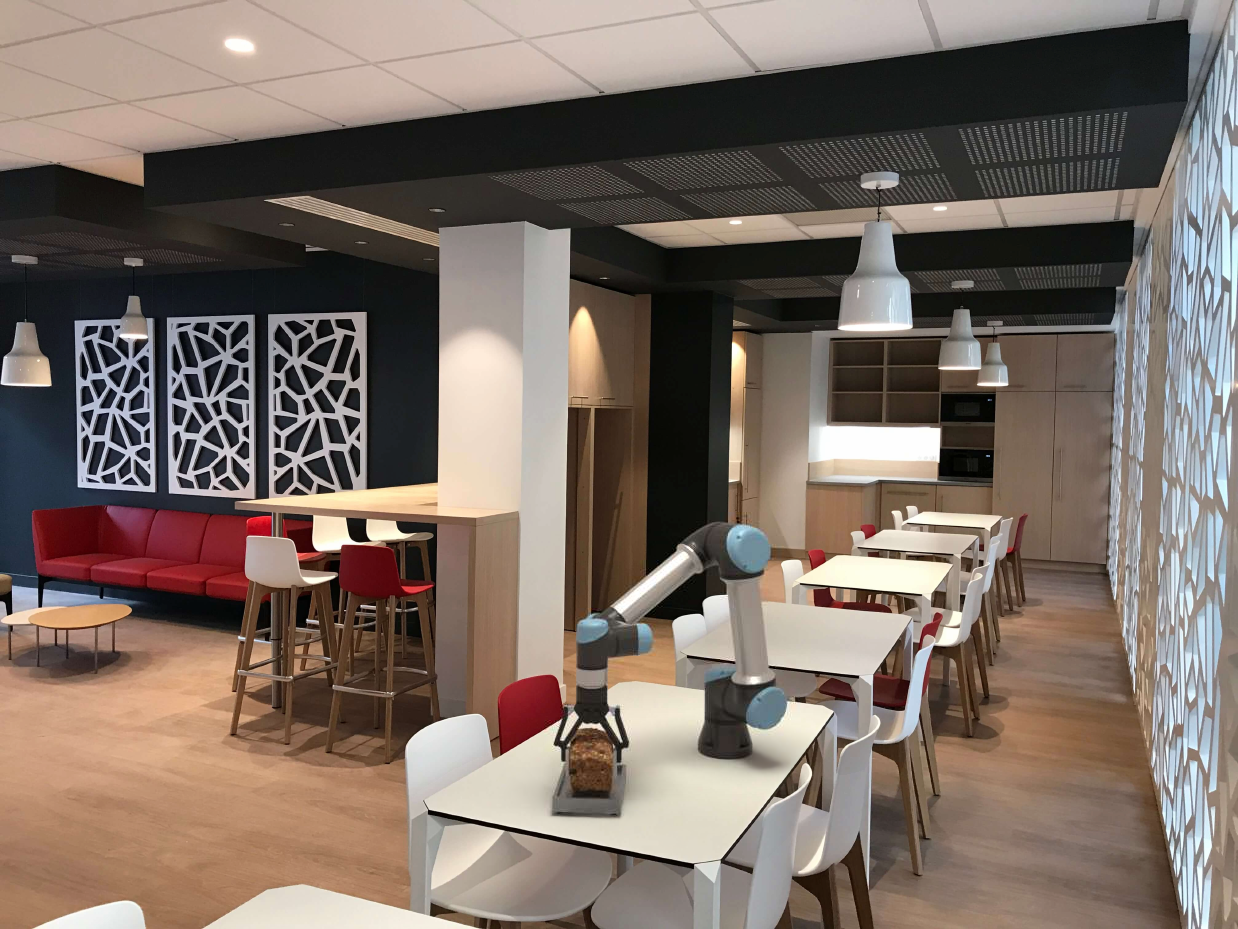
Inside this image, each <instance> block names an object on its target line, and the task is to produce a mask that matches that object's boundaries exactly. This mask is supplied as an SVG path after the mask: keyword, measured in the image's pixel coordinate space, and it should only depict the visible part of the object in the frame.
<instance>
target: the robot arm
mask: <svg viewBox="0 0 1238 929" xmlns="http://www.w3.org/2000/svg"><path fill="white" fill-rule="evenodd" d="M771 550H772V548H771V544H770V542H769V539H768V537H767V535H765V533H764V532H763V531H761V530H760V529H759V528H756V527H754V526H752V525H748V524H740V523H731V522H726V521H715V522H711V523H708V524H706V525H704V526H702V527H700V528H699V529H697V530H696V531H695V532H693V533H691V534H690V535H688V537H686V538H685V539H684V540H683V541H681V542H680V543H679V544H678V545H677V546H676V551H675V552H674V553H673V554H671V555H670V556H669V557H668V558H667V559H665V560H664V561H663V562H662V563H661V564H660V565H658V566H657V567H656V568H655V569H654V570H652V571H651V572H650V573H649V574H647V575H646V576H645V577H644V578H643V579H641V580H640V581H639V582H638V583H636V584H635V585H634V586H633V587H632V588H630V590H628V591H627V592H626V593H624V594H623V595H622V596H621V597H620V598H619V599H618V600H615V601H614V603H612V604H611V605H610V606H609V607H607V609H605V610H604V611H602V612H601V613H599V612H598V613H596V612H595V613H592V614H589V615H588V616H587V617H586V618H585V619H582V620H580V621H578V623H577V625H576V626H577V627H576V637H575V644H576V668H575V669H576V670H575V671H576V672H575V674H576V675H575V676H576V677H575V679H576V680H575V681H576V682H575V683H576V684H577V685H576V688H575V704H574V705H570V704H567V703H566V704H564V705H563V707H562V718H561V721H560V724H559V726H558V729H557V732H556V735H555V738H554V741H553V746H554V747H559V749H560V750H561V751H560V760H561V762H562V763H566V777H569V770H570V769H569V754H570V741H571V739H572V738H573V736H574V735H575V733H576V731H577V730H578V729H580V727H581V726H582V724H585V725H590V724H593V725H598V724H600V726H601V728H602V729H603V731H605V732H606V733H607V735H608V736H609V738H610V740H611V741H612V743H613V748H614V749H613V750H614V753H613V778H616V777H617V764H622V756H623V755H622V754H623V752H622V751H623V750H624V749H628V748H629V746H630V741H629V740H630V739H629V737H628V734H627V731H626V727H625V725H624V722H623V720H622V716H621V706H620V705H618V704H617V705H616V706H610V705H609V703H608V685H607V684H608V678H609V677H608V668H609V664H608V663H609V659H614V658H621V657H622V658H624V657H631V656H640V655H644V654H648V653H649V652H651V650H652V648H653V644H654V640H653V639H654V635H653V632H652V629H651V627H650V626H649V625H648V624H647V623H642V622H641V623H637V622H639V620H641V619H642V618H643V617H644V616H646V614H648V613H649V612H650V611H651V610H652V609H654V608H656V606H657V605H658V604H660V603H661V602H662V601H663V600H664V599H666V597H668V596H670V594H672V593H673V592H674V591H675V590H676V589H677V588H679V586H681V585H682V584H684V583H685V582H686V581H687V580H689V579H690V577H692V576H693V575H695V574H701V573H702V572H704V571H705V570H706V569H707V568H710V567H712V566H718V573H719V579H720V580H721V581H723V582H724V583H725V584H726V592H727V600H728V608H729V617H730V627H731V635H732V644H733V653H734V662H735V665H731V666H730V665H728V666H727V665H726V666H717V667H711V668H709V669H707V670H706V671H705V674H704V681H703V684H704V717H703V718H704V721H703V725H702V728H701V730H700V734H699V736H698V741H697V751H698V752H699V753H700V754H702V755H705V756H708V757H710V758H711V757H712V758H717V759H726V760H727V759H729V760H731V759H740V758H745V757H747V756H750V755H751V754H752V753H753V741H752V738H751V734H750V731H749V727H751V728H753V729H758V730H762V731H763V730H766V731H767V730H771V729H772V728H774V727H776V726H777V725H778V724H779V723H780V722H781V720H782V719H783V717H784V716H785V714H786V712H787V708H788V699H787V695H786V694H785V692H784V691H783V690H782V689H781V688H780V687H778V686H777V677H776V673H775V672H774V671H773V670H772V669H771V668H769V667H770V666H769V658H768V648H767V647H768V646H767V640H766V631H765V622H764V613H763V612H764V611H763V610H764V609H763V603H762V594H761V584H760V580H761V579H762V578H763V577H764V575H765V568H766V567H767V565H768V561H770V559H771ZM573 712H574V713H575V714H576V716H578V718H577V719H576V721H575V723H574V724H573V725H572V727H571V729H569V731H568V733H567V735H566V736H565V738H564V739H563V740H561V739H562V736H563V733H564V730H565V728H566V725H567V721H568V719H569V716H571V715H572V713H573ZM609 712H610V714H611V716H612V717H614V720H615V725H616V727H617V729H618V734H619V735H620V738H618V736H617V734H616V733H615V731H614V730H613V728H612V726H611V725H610V723H609V722H608V719H607V717H606V716H607V715H608V713H609ZM748 726H749V727H748ZM620 739H621V741H620Z"/></svg>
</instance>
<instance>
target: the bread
mask: <svg viewBox="0 0 1238 929" xmlns="http://www.w3.org/2000/svg"><path fill="white" fill-rule="evenodd" d="M569 746H570V754H569V769H570V770H569V775H570V785H571V789H573V790H580V791H586V790H588V789H590V790H591V789H593V790H597V791H601V790H604V791H608V790H609V791H610V790H611V788H612V778H613V777H612V773H613V753H614V744H613V743H612V741H611V740H610V738H609V736H608V735H607V733H606V732H605V730H604V729H603V730H601V729H598V728H597V727H595V728H594V727H584V728H578V730H577V731H576V733H575V735H574V736H573V738H572V739H571V741H570V742H569Z"/></svg>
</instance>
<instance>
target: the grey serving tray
mask: <svg viewBox="0 0 1238 929" xmlns="http://www.w3.org/2000/svg"><path fill="white" fill-rule="evenodd" d="M612 777H613V773H612ZM626 779H627V765H626V764H622V763H617V777H616V778H612V788H611V790H610V791H609V790H608V791H604V790H601V791H597V790H593V789H591V790H590V789H588V790H586V791H580V790H573V789H571V785H570V775H569V777H566V762H563V766H562V770H561V772H560V774H559V778H558V781H557V783H556V787H555V789H554V792H553V795H552V798H551V800H552V802H551V804H552V810H551V811H552V813H553V812H554V813H556V814H557V815H558V814H563V813H590V814H591V813H593V814H611V816H617V815H619V814H621V811H622V806H623V805H622V804H623V799H624V793H625V785H626Z"/></svg>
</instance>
